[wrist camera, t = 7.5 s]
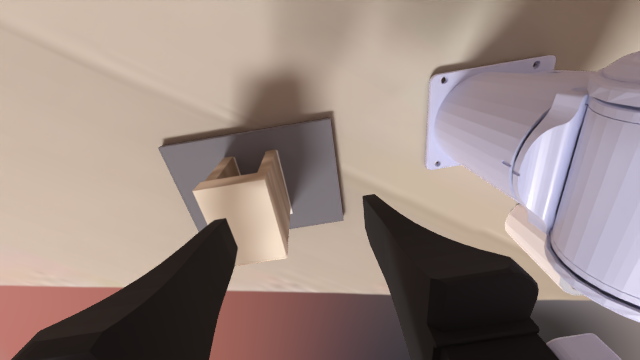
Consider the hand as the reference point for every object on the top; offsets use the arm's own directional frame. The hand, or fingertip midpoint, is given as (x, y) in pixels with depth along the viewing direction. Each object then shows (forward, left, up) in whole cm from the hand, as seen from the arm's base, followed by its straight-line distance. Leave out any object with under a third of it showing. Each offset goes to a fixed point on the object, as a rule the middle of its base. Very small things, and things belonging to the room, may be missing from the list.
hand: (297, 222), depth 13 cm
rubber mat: (+4, +2, -9) cm, 10 cm away
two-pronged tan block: (+4, +2, -9) cm, 10 cm away
